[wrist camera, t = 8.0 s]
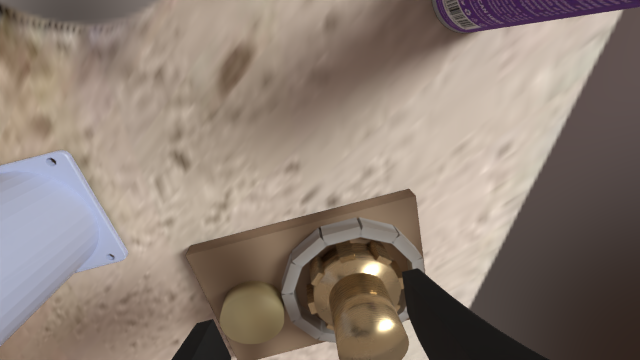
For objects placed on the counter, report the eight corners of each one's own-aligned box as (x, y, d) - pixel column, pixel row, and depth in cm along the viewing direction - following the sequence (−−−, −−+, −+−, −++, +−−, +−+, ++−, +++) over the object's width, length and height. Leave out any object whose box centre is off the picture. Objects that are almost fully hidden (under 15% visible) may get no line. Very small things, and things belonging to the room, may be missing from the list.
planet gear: (319, 322, 24) (329, 402, 18) (295, 253, 21) (298, 322, 15) (402, 298, 24) (438, 372, 18) (388, 226, 21) (425, 286, 15)
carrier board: (241, 351, 25) (236, 382, 23) (190, 245, 21) (178, 270, 19) (423, 303, 26) (438, 329, 23) (408, 188, 21) (425, 205, 19)
